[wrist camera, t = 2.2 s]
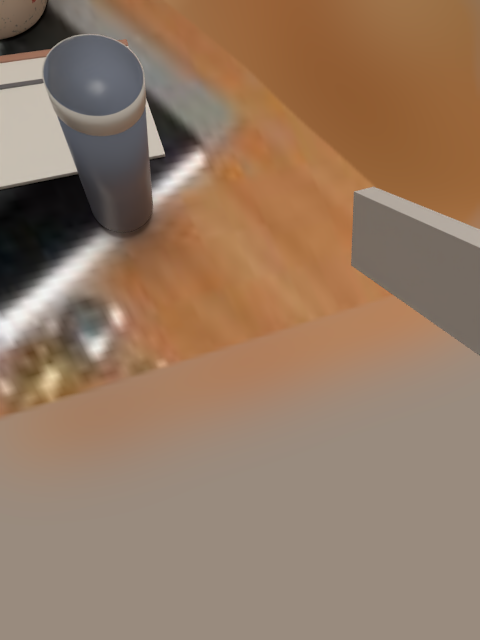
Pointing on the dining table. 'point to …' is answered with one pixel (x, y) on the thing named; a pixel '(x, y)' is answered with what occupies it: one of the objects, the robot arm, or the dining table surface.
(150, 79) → the dining table surface
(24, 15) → the teacup with lid
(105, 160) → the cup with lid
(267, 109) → the dining table surface
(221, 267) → the dining table surface
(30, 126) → the sheet
